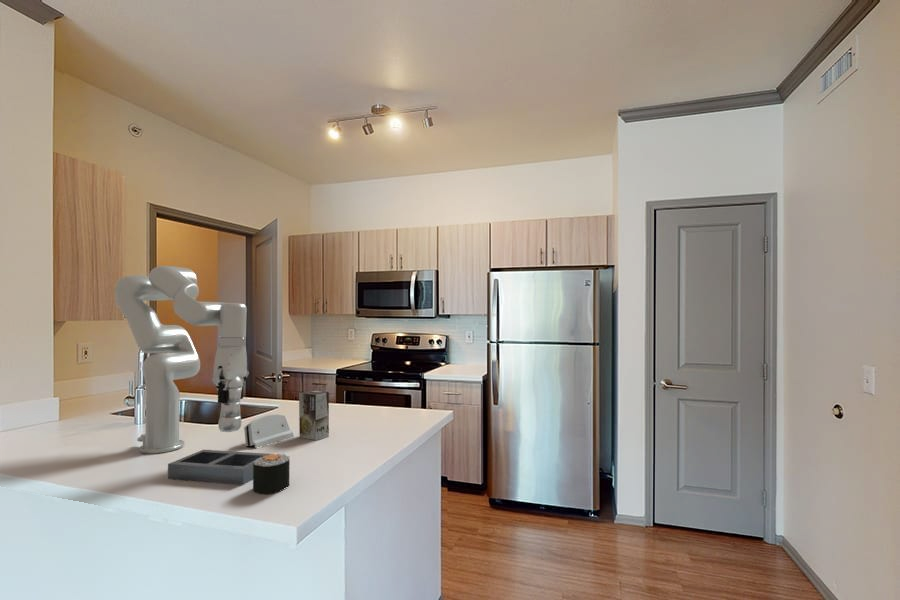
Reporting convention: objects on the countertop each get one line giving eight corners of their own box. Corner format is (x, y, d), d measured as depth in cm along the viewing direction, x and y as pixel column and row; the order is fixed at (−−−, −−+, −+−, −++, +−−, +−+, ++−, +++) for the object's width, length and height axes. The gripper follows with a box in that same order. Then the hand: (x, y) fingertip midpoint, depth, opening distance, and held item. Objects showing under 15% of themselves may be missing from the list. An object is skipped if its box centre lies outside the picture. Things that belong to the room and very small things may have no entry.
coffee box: (329, 436, 163) (329, 391, 163) (315, 440, 157) (315, 394, 158) (312, 433, 168) (312, 389, 168) (298, 437, 162) (298, 392, 163)
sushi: (246, 491, 113) (246, 459, 113) (272, 480, 120) (272, 450, 120) (270, 496, 109) (271, 463, 110) (295, 484, 117) (295, 453, 117)
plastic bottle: (236, 427, 144) (238, 364, 144) (244, 432, 139) (246, 367, 140) (214, 431, 139) (217, 366, 140) (222, 435, 135) (224, 368, 135)
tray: (167, 478, 122) (168, 463, 122) (203, 463, 134) (203, 449, 134) (243, 484, 117) (243, 469, 117) (272, 467, 130) (272, 453, 130)
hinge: (255, 449, 148) (248, 419, 150) (246, 452, 150) (239, 422, 152) (294, 436, 163) (288, 409, 165) (286, 439, 165) (279, 412, 167)
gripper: (240, 340, 149) (238, 395, 149) (201, 344, 132) (199, 405, 132) (260, 341, 147) (258, 396, 147) (223, 345, 131) (221, 407, 130)
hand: (230, 400), depth 139 cm, fingers closed on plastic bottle, 6 cm apart
